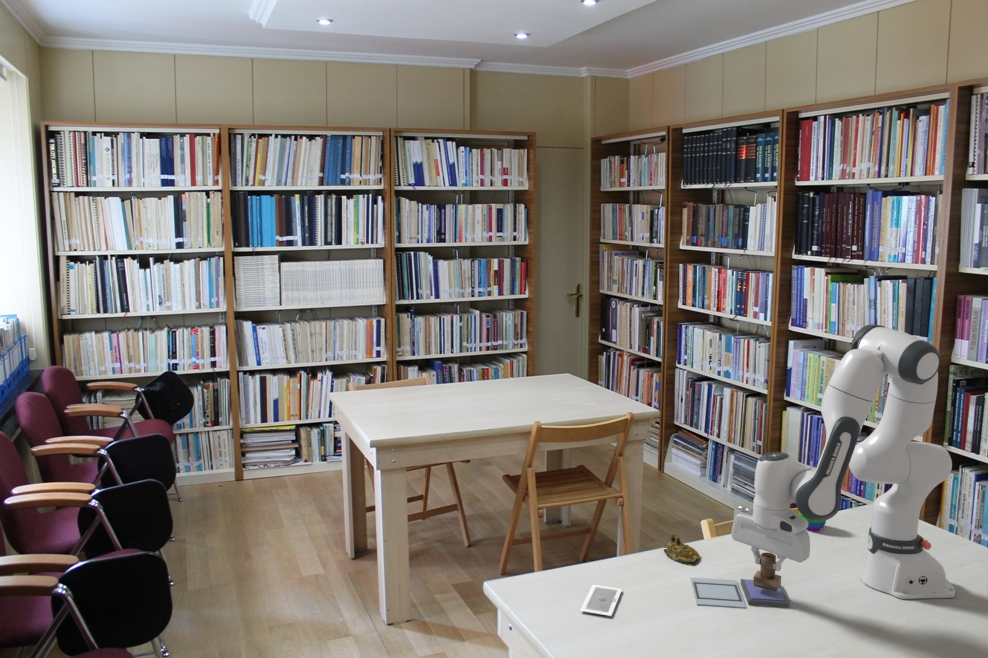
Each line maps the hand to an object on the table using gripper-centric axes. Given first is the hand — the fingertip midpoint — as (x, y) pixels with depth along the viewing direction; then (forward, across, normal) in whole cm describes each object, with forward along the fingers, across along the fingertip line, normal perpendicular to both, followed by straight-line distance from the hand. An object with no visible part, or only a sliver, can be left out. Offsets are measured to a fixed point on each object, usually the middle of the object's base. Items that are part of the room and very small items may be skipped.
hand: (767, 566), depth 207 cm
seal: (+9, -30, +6) cm, 32 cm away
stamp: (+5, 0, 0) cm, 5 cm away
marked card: (+8, -10, -8) cm, 15 cm away
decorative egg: (+8, -14, +53) cm, 56 cm away
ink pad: (+8, -1, 0) cm, 8 cm away
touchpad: (+9, -26, -34) cm, 44 cm away
